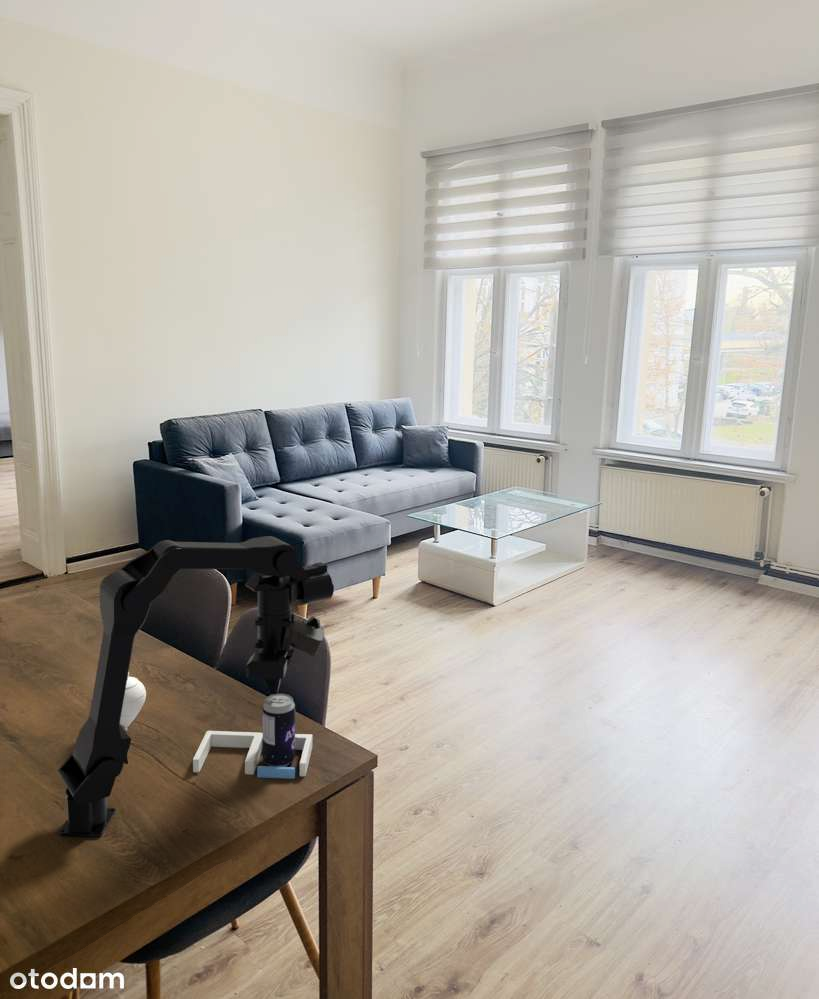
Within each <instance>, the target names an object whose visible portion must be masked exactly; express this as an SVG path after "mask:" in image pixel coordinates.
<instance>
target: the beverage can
mask: <svg viewBox="0 0 819 999" xmlns="http://www.w3.org/2000/svg"><path fill="white" fill-rule="evenodd" d="M262 733H263V749H262V760H263V761H264V762H265V763H266V764H267V765H268V766H271V767H288V765H290V764H291V763H292V762H293V761H294V760H295V758H296V750H295V734H296V704H295V702H294V699H293V697H292V696H290V694H285V693H277V694H271V695H269V696H266V698H265V699H264V704H263V705H262Z"/></svg>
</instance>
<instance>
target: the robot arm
mask: <svg viewBox="0 0 819 999" xmlns="http://www.w3.org/2000/svg"><path fill="white" fill-rule="evenodd" d="M180 570H246V571H250V572H254V574H253V576H252V577H251V578H250V579H248V580H247V582H245V587H247V588H248V589H250V590H252V591H253V592H255V593H257V616H256V617H255V620H254V623H255V626H256V627H257V639H256V641H255V646H254V647H255V649H260V650H259V652H254V653H253V655H252V656H250V657H249V658H248V659H249V660H248V661H247V663H246V665H245V676H246V677H247V678H249V679H262V680H264V683H265V685H266V687H267V689H268V691H269V692H270V694H271V695H274V694H279V690H280V685H281V680H282V679H284V678H285V676H286V673H287V669H288V667H290V666H289V665H290V663H291V660H292V658H293V655H294V652H295V649H296V650H298V651H301V652H303V653H307V655H308V656H312V657H315V656H317V655H318V652H319V649H320V647H321V646H322V645H321V644H322V642H323V640H324V636H325V631H324V628H323V627H322V628H321V622H320V621H321V619H320V618H318V617H316V616H311V617H310V618H308V619H307V620H302V621H297V620H296V614H295V613H294V611H293V610H292V602H294V603H296V605H298V606H301V607H302V606H307V605H310V604H314V603H319V602H325V601H329V600H331V599H332V597H333V596H334V590H335V586H334V584H333V580H332V577H331V575H330V573H329V572H328V565H327V564H326V563H323V562H322V561H321V562H316V563H313V564H311V565H305V566H303V565H302V564H301V563H300V561H299V560H298V554H297V551H296V549H295V547H293V545H291V544H289V543H287V542H285V541H282V540H281V539H279V538H277V537H274V536H271V535H267V536H266V535H265V536H259V537H254V538H253V537H252V538H250V539H247V540H244V541H241V542H211V541H210V542H204V541H203V542H200V541H199V542H197V541H172V540H170V539H166V540H161V541H159V542H157V543H155V544H154V546H152V547H151V548H150V549H149V550H148V551H146V552H144V553H142V554H140V555H138V556H136V557H134V558H132V559H131V560H129V561H128V562H127V563H125V564H124V565H123V566H122V567H121V568H120V569H117V570H115V571H112V572H111V573H110V572H109V573H108V574H107V576H105V577H103V579H102V581H101V582H100V586H99V609H100V615H101V621H102V626H103V632H102V639H101V645H100V650H99V651H100V652H99V655H98V662H97V668H96V674H95V681H94V687H93V692H92V698H91V704H90V709H89V710H90V711H89V715H88V719H86V721H85V723H84V724H83V726H82V727H81V728H80V730H79V732H78V735H77V737H76V741H75V743H74V746H73V747H72V748H73V750H72V752H71V753H70V755H68V757H67V759H66V760H65V761H64V762H63V763H62V764H61V765H60V767H59V768H58V769H57V772H58V774H59V776H60V778H61V779H62V781H63V782H64V784H65V786H66V790H65V798H66V812H67V819H66V820H65V822H64V824H63V825H62V826H61V827H60V828H59V830H58V833H59V834H58V835H60V836H70V837H71V836H74V837H96V838H97V837H98V838H99V837H101V836H103V834H104V833H105V832H106V829H107V828H108V826H109V825H110V823H111V821H112V820H113V818H114V816H115V814H117V813H116V812H117V810H116V808H115V807H108V800H107V798H108V797H110V796H111V793H112V790H113V787H114V784H115V781H116V778H117V777H119V776H120V775H121V773H122V772H123V768H124V764H125V765H128V764H129V760H128V752H129V750H130V747H131V742H132V737H130V735H129V734H128V733H127V731H126V730H125V729H124V728H123V725H121V724H120V719H121V713H122V707H123V701H124V695H125V690H126V684H127V678H128V672H129V673H130V671H129V670H130V665H131V659H132V654H133V650H134V649H133V648H134V642H135V637H136V635H137V633H138V632H139V630H141V628H142V626H143V625H144V624H145V622H146V619H147V617H148V614H149V610H150V609H151V604H152V602H153V601H154V600H155V599H156V598H157V597H159V595H160V594H162V593H163V591H164V590H165V589H166V587H167V585H168V584H169V583H170V582H171V580H172V579H173V576H174V575H176V573H177V572H179V571H180ZM261 574H262V575H264V576H262V575H261ZM293 648H294V649H293Z"/></svg>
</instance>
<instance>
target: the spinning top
mask: <svg viewBox="0 0 819 999" xmlns="http://www.w3.org/2000/svg"><path fill="white" fill-rule="evenodd" d="M146 698H147V691H146V687H145V686H144V684H143V682H141V681H140V680H139V679H138V678H137V677H134V676H130V671H129V672H128V678H127V684H126V690H125V695H124V701H123V707H122V713H121V719H120V725H121V726H122V727H124V728H125V729H124V730H125V731H126V732H127V731H128V727H129V726H130V725H131V723H132V722H133V721H134V720H135V719H136V717H137V716H138V715H139V712H140V711H141V710H142V707H143V706H144V704H145V701H146Z"/></svg>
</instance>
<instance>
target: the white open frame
mask: <svg viewBox="0 0 819 999" xmlns="http://www.w3.org/2000/svg"><path fill="white" fill-rule="evenodd" d="M212 747H214V748H215V747H216V748H220V747H221V748H240V749H244V748H245V749H249V750H248V752H247V755H246V757H245V760H244V774H245V775H254V774H255V772H256V770H257V773H256V774H257V776H256V777H257V778H267V779H269V778H270V779H291V780H292V779H295V777H296V775H295V774H296V767H292V766H289V767H288V766H285V767H271V766H269V765H268V766H267V765H264V766H263V765H258V763H259V761H260V758H261V755H262V753H263V732H253V731H252V732H251V731H226V730H225V731H224V730H220V731H219V730H207V731H206V732H205V734H204V736H203V739H202V740H201V742H200V745H199V746H198V749H197V751H196V752H195V755H194V756H193V758H192V772H193V773H200V771H201V769H202V767H203V765H204V762H205V761H206V758H207V756H208V754H209V753H210V750H211V748H212ZM312 749H313V734H307V733H305V734H303V733H295V751H296V750H297V751H298V750H300V751H302V753H301V758H300V760H299V777H306V776H307V771H308V766H309V763H310V759H311V755H312V751H313V750H312Z"/></svg>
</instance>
